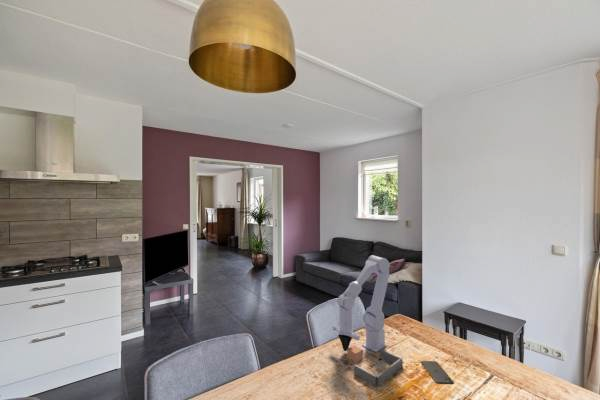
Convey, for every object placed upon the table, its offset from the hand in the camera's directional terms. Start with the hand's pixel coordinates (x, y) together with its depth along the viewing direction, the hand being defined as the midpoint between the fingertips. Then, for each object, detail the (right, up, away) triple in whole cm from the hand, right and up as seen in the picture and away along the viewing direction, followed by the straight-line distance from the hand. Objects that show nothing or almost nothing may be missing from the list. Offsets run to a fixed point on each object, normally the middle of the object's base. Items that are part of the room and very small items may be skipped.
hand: (345, 349), depth 127 cm
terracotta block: (+4, -2, -4) cm, 6 cm away
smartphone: (+36, -2, -14) cm, 38 cm away
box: (+12, -1, -13) cm, 18 cm away
